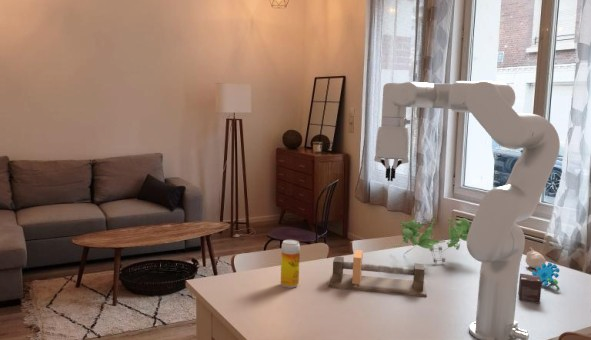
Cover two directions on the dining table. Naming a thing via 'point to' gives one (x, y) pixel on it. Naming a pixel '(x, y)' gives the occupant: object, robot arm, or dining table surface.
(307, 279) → the dining table surface
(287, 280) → the beer can
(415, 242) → the plant cuttings
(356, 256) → the collar
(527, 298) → the box
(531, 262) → the garlic bulb
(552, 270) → the blue lobed piece
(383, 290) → the pipe stand
